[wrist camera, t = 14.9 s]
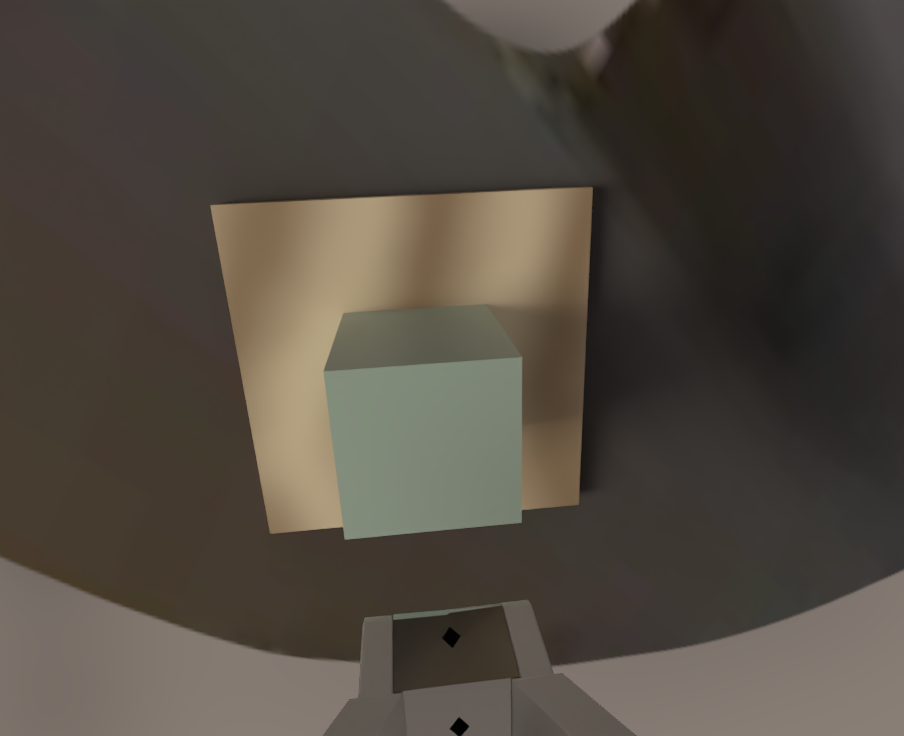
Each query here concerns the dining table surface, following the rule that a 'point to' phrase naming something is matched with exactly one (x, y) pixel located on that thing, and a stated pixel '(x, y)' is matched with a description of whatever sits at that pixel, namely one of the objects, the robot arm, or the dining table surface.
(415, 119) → the dining table surface
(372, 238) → the post board
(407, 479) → the pale green cube
